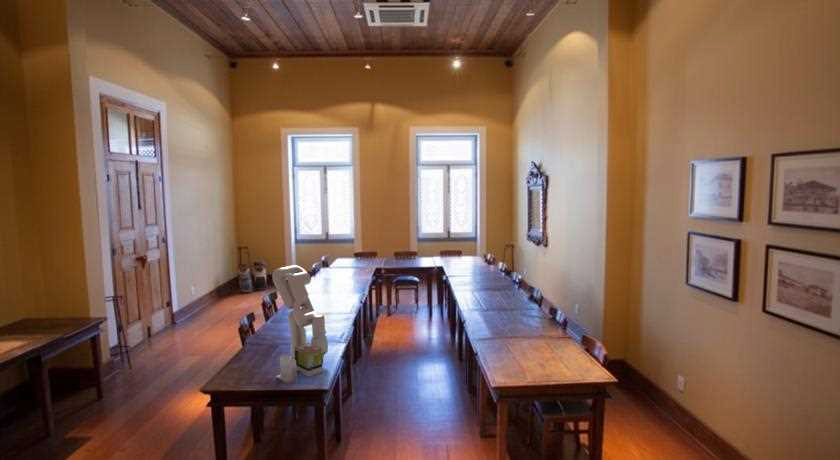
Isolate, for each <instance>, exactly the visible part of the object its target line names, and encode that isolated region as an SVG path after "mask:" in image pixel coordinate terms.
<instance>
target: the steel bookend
mask: <svg viewBox="0 0 840 460" xmlns="http://www.w3.org/2000/svg"><path fill="white" fill-rule="evenodd" d="M279 365H280V374H279V375H276V377H275V378H278V379H280V380H281V381H280V380H279V381H280V382H282V381H283V382H282V383H284V382H285V384H286V383H287V384H286V385H290V384H292V382H293V383H295V382H297V381H298V371H297V367H296V360H294V359H292V358H290V356H288V355H285V354H284V355H281V356H279ZM278 379H277V380H278ZM296 380H297V381H296ZM294 381H295V382H294Z"/></svg>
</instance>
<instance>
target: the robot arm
mask: <svg viewBox="0 0 840 460" xmlns="http://www.w3.org/2000/svg"><path fill="white" fill-rule="evenodd" d="M271 277H272V283H273V284H274V287H276V289H277V291H278V292H279V295H280V297H281V300H282V302H283V305H284V307H285V308H286V309H287V310H292V311H290V312H289V313H288V315H287V322H288V325H289V332H290V333H289V334H290V350H289V353H290V354H291V355H290V356H289V357H290V358H292V359H294V360H295V350H294V347H295V346H299V345H302V344H305V343H307V332H306V331H307V330H306V328H305V327H308V326H311V333H312V338H311V340H310V344H311V345H312V346H317V347H320V348H321V349H322V365H324V357H325V355H326V354H327V353H328V351H329V345H328V342H329V341H328V339H327V335H326V334H327V331H326V324H325V323H326V321H325V320H326V319H325V315H324V314H321V313H319V312H317V311H316V310H314V309H315V308H314V307H313V304H312V302H311V299H310V298H309V292H308V291H307V287H306V285H309V284H311V282H312V279H311V275H310V273H309V272H308V271H306V270H305V269H304V268H302V267H301V266H299V265H295V264H294V265H287V266H283V267H279V268H276V269H274V270H273V272H272V275H271Z"/></svg>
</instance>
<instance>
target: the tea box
mask: <svg viewBox="0 0 840 460" xmlns="http://www.w3.org/2000/svg"><path fill="white" fill-rule="evenodd" d="M294 350H295V360H296V367H297V370H298V371H297V372H299V371H300V372H299V373H301V374H303V375H304V376H306V377H313V376H314V374H315V375H318V374H321V373H323V364H322V349H321V348H320V347H317V346H312V345H311V342H306V343H305V344H302V345H299V346H295V347H294ZM320 372H321V373H320ZM317 373H318V374H317Z"/></svg>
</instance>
